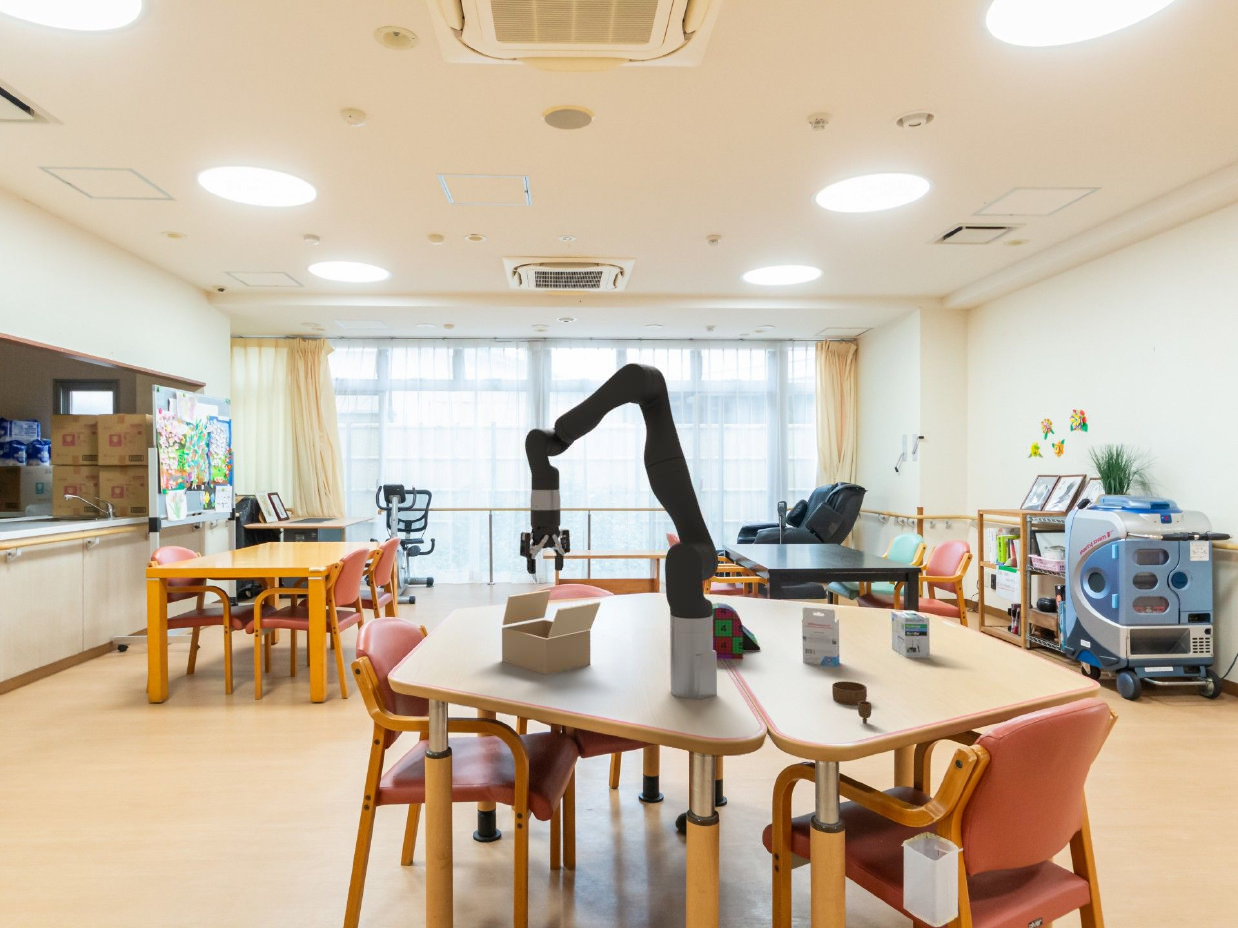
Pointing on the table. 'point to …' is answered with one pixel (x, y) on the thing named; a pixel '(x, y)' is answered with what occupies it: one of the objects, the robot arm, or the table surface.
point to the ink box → (820, 637)
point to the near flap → (574, 619)
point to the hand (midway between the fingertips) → (545, 571)
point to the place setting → (853, 697)
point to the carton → (544, 647)
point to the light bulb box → (910, 634)
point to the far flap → (526, 607)
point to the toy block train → (730, 633)
